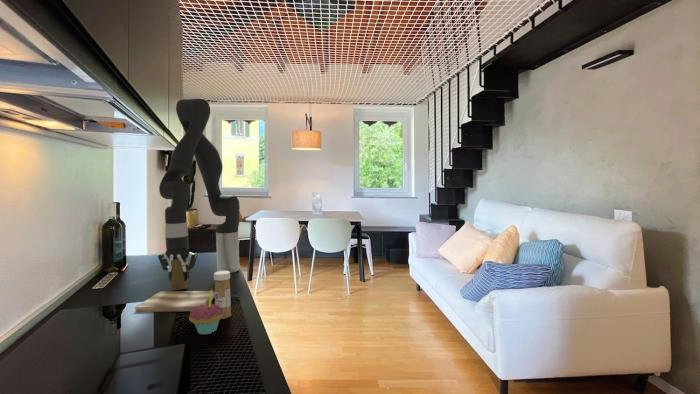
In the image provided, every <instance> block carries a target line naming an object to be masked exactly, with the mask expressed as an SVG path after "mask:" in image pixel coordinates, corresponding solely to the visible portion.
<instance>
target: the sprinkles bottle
mask: <svg viewBox="0 0 700 394" xmlns="http://www.w3.org/2000/svg"><path fill="white" fill-rule="evenodd" d="M230 279H231V273H230V272H229V271H218V272H217V271H215V272H214V273H213V281H214V291H215V298H214V305H217V306H219V307H221V309H222V310H223V315H222V318H220V320H225V319H228V318H230V317H231V316H232V312H231V311H232V309H231V281H230Z"/></svg>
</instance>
